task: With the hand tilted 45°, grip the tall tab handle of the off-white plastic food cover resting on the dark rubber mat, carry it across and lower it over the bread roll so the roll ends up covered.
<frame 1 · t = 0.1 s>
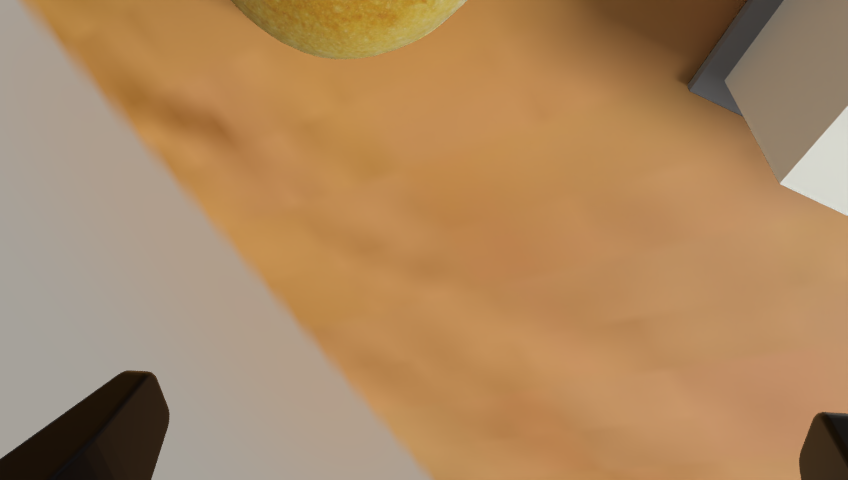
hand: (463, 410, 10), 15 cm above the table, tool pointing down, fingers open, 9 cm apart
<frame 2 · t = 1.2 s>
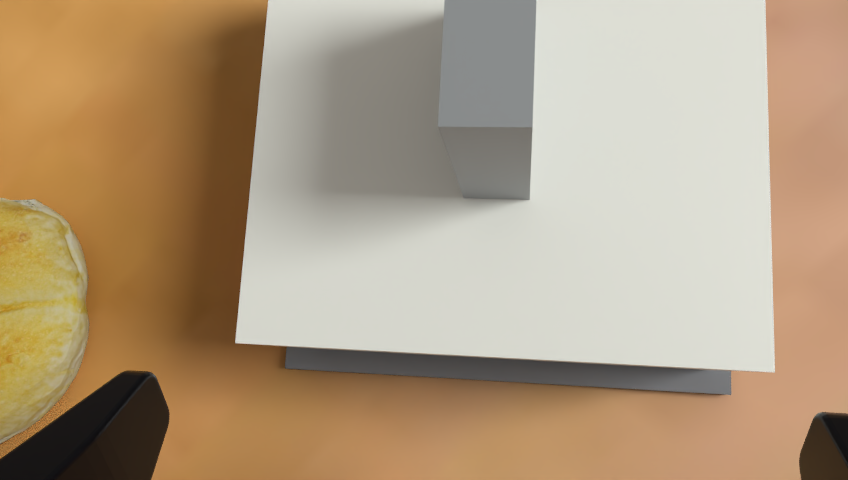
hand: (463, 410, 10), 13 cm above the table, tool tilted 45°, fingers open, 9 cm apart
mat: (506, 169, 24), on the table
cover: (505, 166, 24), resting on mat
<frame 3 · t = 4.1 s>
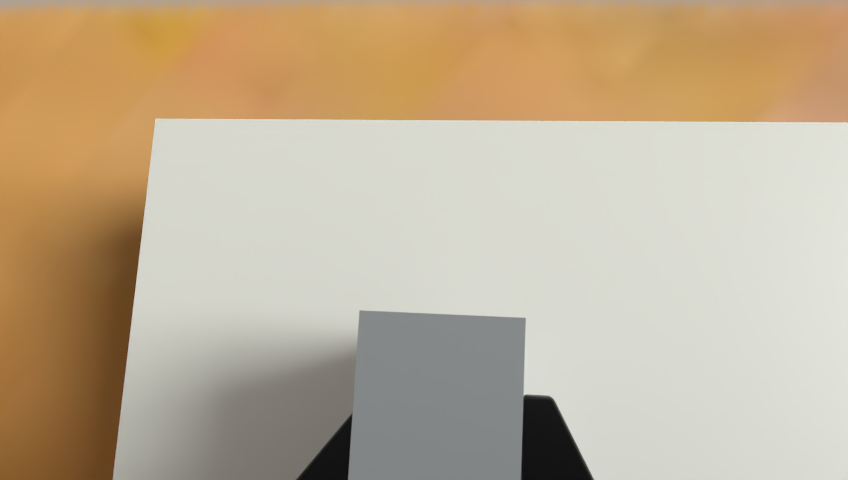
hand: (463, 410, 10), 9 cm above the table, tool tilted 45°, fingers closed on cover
cover: (488, 446, 18), resting on mat, touching gripper
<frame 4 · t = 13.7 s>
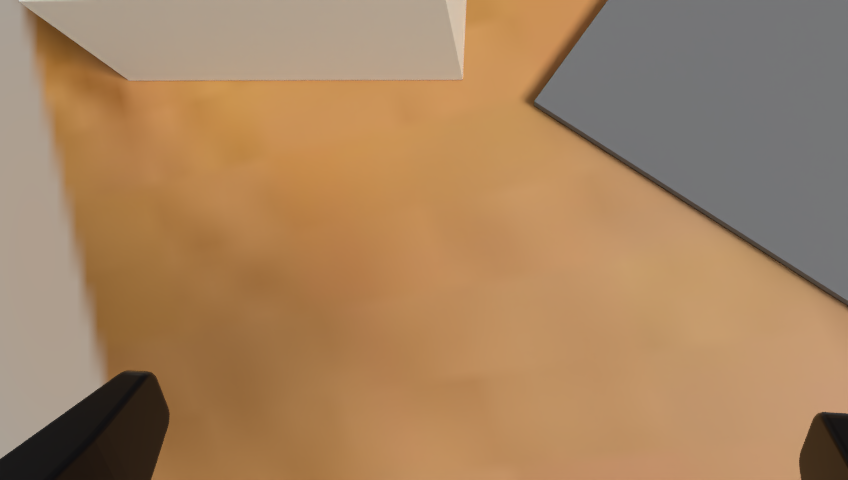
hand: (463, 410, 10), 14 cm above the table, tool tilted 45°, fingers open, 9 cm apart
mat: (833, 48, 23), on the table
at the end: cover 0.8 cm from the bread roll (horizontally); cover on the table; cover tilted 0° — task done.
